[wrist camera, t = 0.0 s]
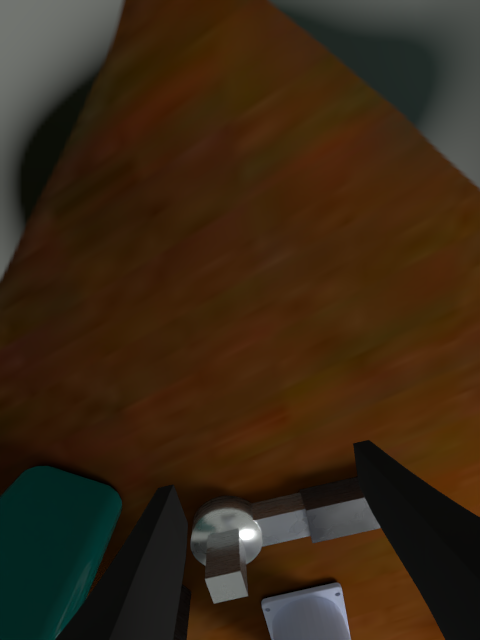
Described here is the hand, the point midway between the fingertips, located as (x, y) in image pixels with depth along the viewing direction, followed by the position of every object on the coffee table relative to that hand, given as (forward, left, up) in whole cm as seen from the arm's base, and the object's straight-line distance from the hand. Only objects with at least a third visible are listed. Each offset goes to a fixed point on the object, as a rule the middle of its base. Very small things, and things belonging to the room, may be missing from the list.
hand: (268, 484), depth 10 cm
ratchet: (-14, -1, -10) cm, 17 cm away
